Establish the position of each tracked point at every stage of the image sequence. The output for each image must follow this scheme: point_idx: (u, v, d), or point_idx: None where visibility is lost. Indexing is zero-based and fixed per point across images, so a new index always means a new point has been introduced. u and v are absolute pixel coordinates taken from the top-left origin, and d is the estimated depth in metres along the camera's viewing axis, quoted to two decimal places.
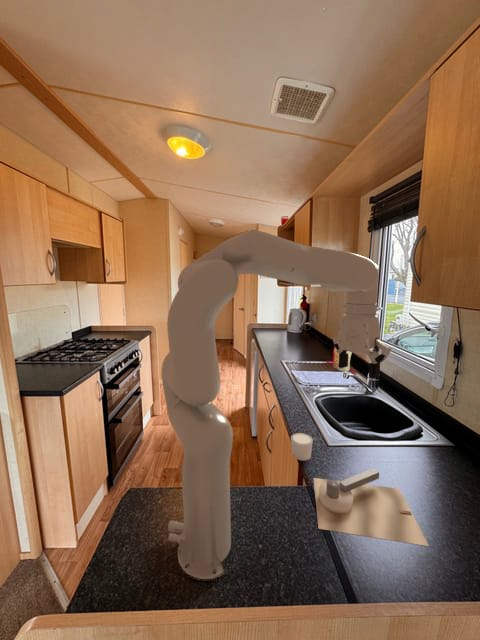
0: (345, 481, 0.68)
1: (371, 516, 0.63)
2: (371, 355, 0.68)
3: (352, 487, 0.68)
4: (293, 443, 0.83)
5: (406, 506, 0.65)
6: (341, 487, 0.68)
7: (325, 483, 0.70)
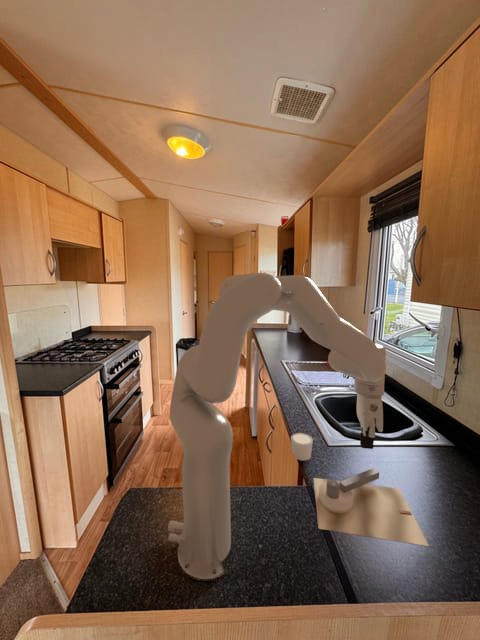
0: (345, 481, 0.68)
1: (371, 516, 0.63)
2: None
3: (352, 487, 0.68)
4: (293, 443, 0.83)
5: (406, 506, 0.65)
6: (341, 487, 0.68)
7: (325, 483, 0.70)
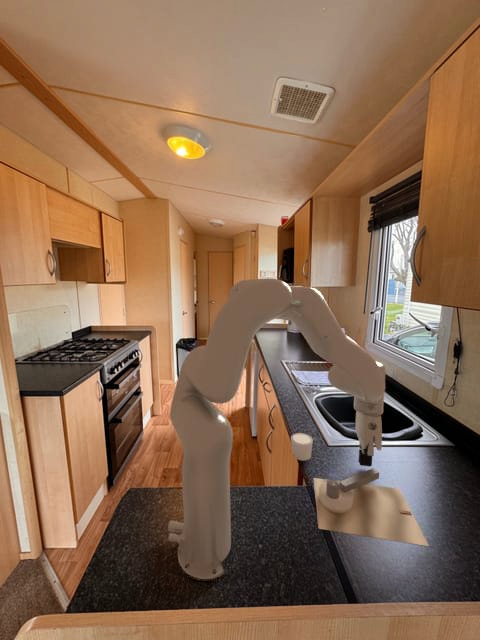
0: (345, 481, 0.68)
1: (371, 516, 0.63)
2: None
3: (352, 487, 0.68)
4: (293, 443, 0.83)
5: (406, 506, 0.65)
6: (341, 487, 0.68)
7: (325, 483, 0.70)
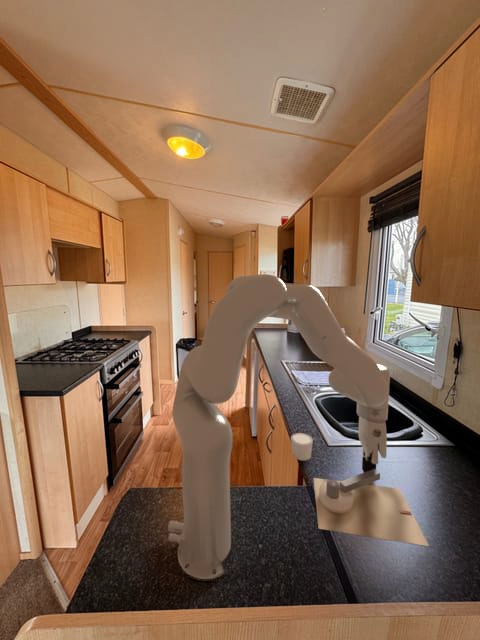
0: (345, 481, 0.68)
1: (371, 516, 0.63)
2: None
3: (352, 487, 0.68)
4: (293, 443, 0.83)
5: (406, 506, 0.65)
6: (341, 487, 0.68)
7: (325, 483, 0.70)
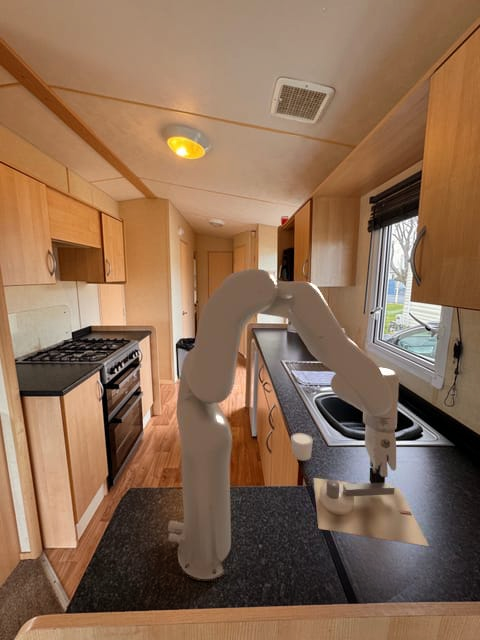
0: (349, 486, 0.67)
1: (371, 516, 0.63)
2: None
3: (356, 493, 0.66)
4: (293, 443, 0.83)
5: (406, 506, 0.65)
6: (344, 490, 0.67)
7: None
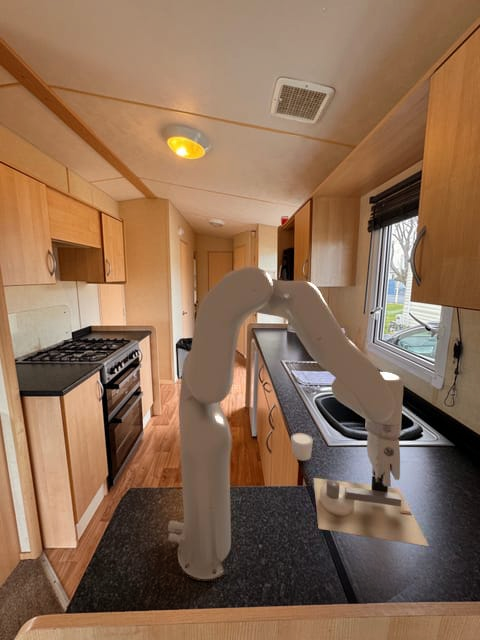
0: (351, 489, 0.65)
1: (371, 516, 0.63)
2: None
3: (357, 498, 0.64)
4: (293, 443, 0.83)
5: (406, 506, 0.65)
6: (345, 493, 0.66)
7: None
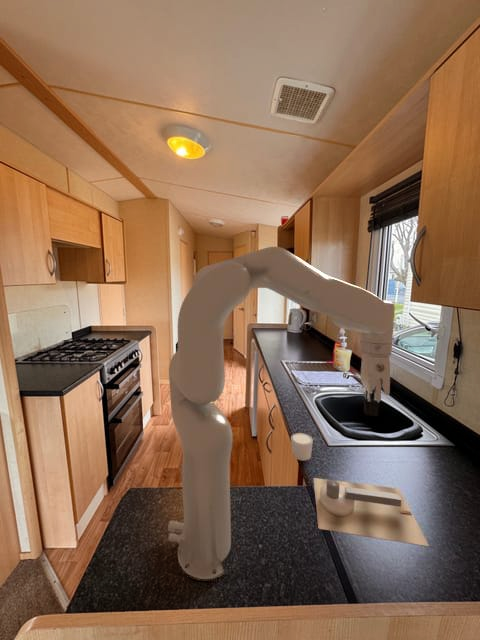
0: (351, 489, 0.65)
1: (371, 516, 0.63)
2: None
3: (357, 498, 0.64)
4: (293, 443, 0.83)
5: (406, 506, 0.65)
6: (345, 493, 0.66)
7: None
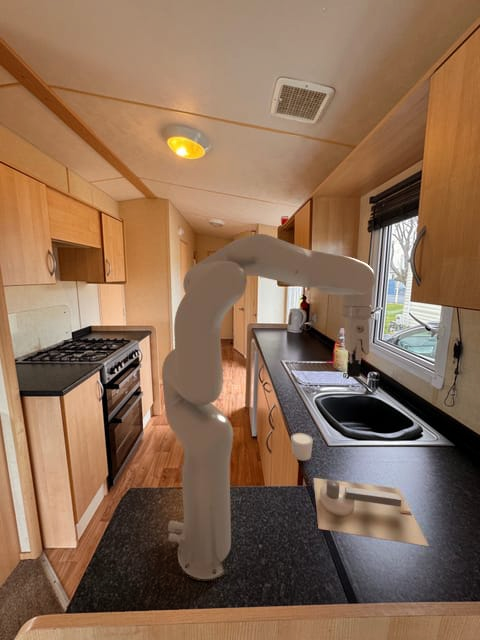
0: (351, 489, 0.65)
1: (371, 516, 0.63)
2: None
3: (357, 498, 0.64)
4: (293, 443, 0.83)
5: (406, 506, 0.65)
6: (345, 493, 0.66)
7: None
